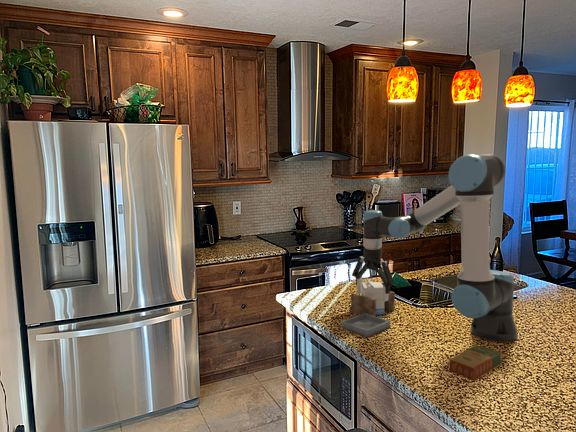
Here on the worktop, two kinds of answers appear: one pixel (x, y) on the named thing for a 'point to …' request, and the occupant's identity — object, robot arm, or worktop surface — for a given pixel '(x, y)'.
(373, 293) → the ink box
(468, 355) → the carton
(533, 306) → the worktop surface
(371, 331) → the tray
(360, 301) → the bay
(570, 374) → the worktop surface
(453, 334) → the worktop surface
